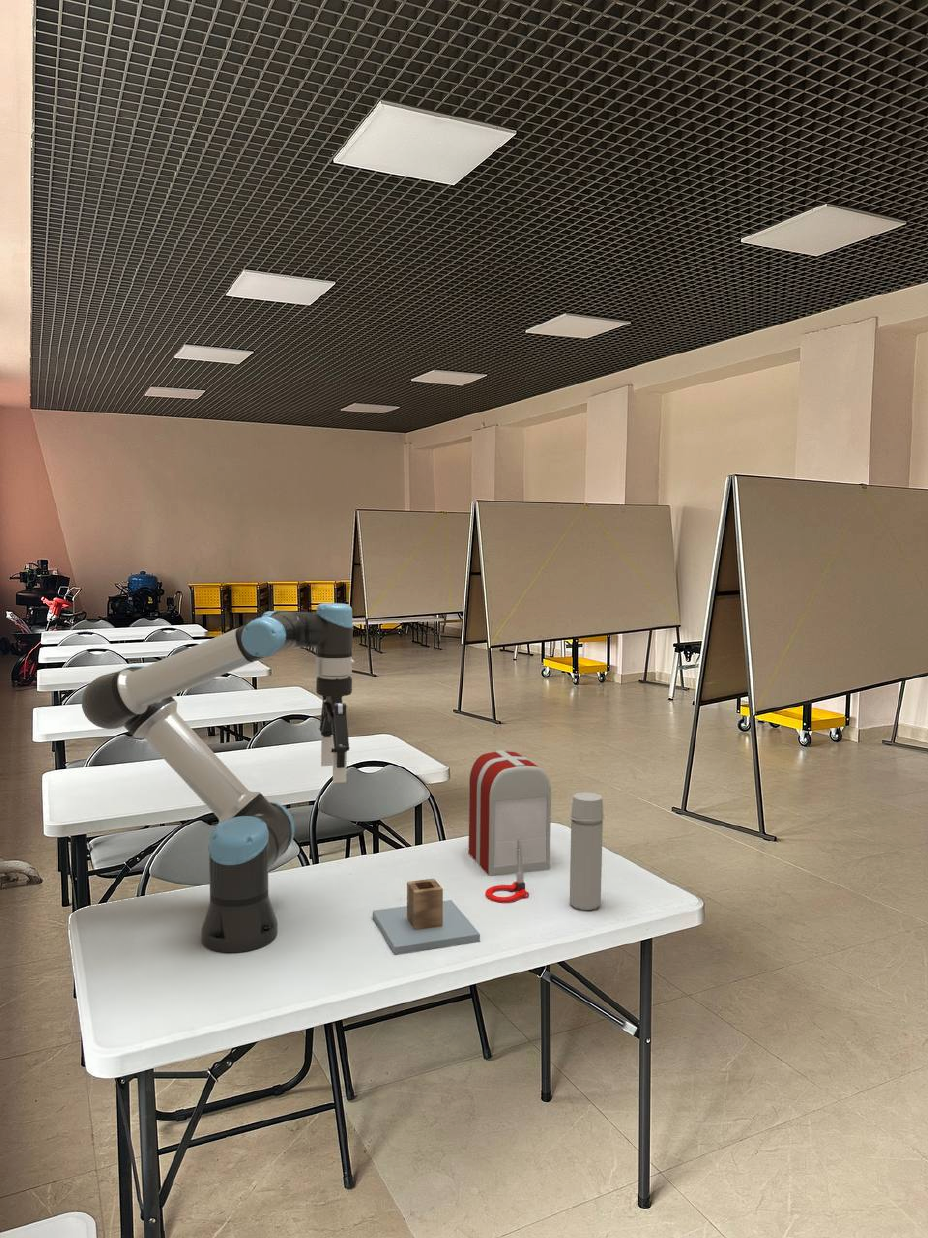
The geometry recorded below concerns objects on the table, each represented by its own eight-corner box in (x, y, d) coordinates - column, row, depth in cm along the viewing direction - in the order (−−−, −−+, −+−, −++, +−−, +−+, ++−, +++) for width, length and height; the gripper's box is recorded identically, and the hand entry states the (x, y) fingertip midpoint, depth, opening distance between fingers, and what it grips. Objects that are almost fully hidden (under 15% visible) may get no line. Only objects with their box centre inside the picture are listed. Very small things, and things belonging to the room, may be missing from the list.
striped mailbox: (525, 846, 235) (527, 747, 233) (551, 869, 218) (553, 763, 216) (466, 852, 230) (467, 751, 228) (488, 877, 213) (490, 768, 211)
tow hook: (494, 907, 197) (531, 899, 200) (492, 851, 195) (529, 845, 199) (480, 893, 205) (516, 886, 208) (478, 839, 203) (514, 833, 207)
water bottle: (607, 911, 194) (609, 800, 192) (572, 913, 193) (575, 802, 191) (594, 894, 203) (596, 789, 201) (561, 896, 202) (563, 790, 200)
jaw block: (414, 930, 180) (415, 892, 179) (406, 918, 186) (407, 882, 185) (442, 926, 182) (442, 889, 181) (433, 914, 188) (434, 878, 187)
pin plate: (394, 954, 173) (394, 921, 172) (372, 917, 190) (372, 886, 189) (479, 941, 179) (480, 908, 178) (451, 906, 196) (451, 876, 195)
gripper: (364, 685, 176) (363, 788, 178) (340, 667, 199) (339, 758, 201) (327, 686, 174) (326, 791, 175) (307, 667, 197) (306, 760, 199)
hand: (333, 773), depth 188 cm, fingers open, 13 cm apart
